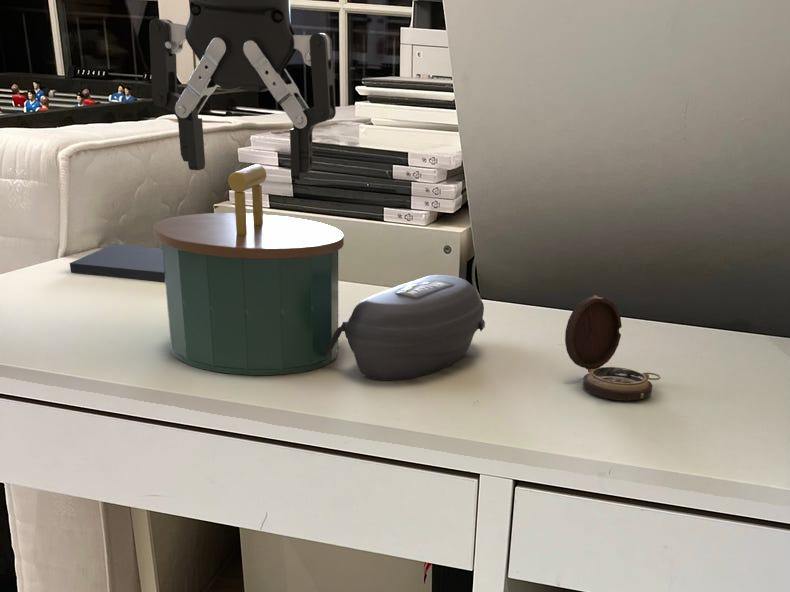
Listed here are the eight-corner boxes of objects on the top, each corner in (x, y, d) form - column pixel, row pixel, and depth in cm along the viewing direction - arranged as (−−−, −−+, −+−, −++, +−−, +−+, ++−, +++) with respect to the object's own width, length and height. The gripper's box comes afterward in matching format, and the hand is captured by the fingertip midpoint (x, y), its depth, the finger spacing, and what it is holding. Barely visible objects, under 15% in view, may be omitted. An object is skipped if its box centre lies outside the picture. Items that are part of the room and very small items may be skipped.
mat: (70, 272, 108) (69, 263, 107) (114, 252, 118) (113, 243, 118) (177, 283, 108) (176, 273, 107) (211, 262, 118) (211, 253, 117)
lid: (124, 255, 77) (115, 169, 74) (191, 223, 91) (185, 150, 87) (321, 274, 77) (320, 189, 74) (359, 239, 90) (360, 166, 87)
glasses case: (427, 387, 80) (399, 290, 77) (326, 407, 85) (297, 317, 82) (515, 339, 94) (494, 255, 91) (423, 358, 99) (401, 280, 96)
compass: (615, 407, 83) (629, 319, 79) (555, 379, 88) (565, 296, 84) (681, 395, 87) (697, 311, 83) (620, 370, 92) (632, 290, 88)
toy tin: (146, 365, 82) (134, 246, 77) (202, 322, 95) (195, 218, 90) (316, 382, 82) (315, 264, 77) (350, 337, 94) (351, 233, 89)
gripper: (122, -80, 69) (146, 171, 78) (320, -63, 69) (323, 188, 77) (160, -70, 76) (179, 161, 84) (341, -55, 75) (342, 176, 84)
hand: (248, 174), depth 81 cm, fingers open, 8 cm apart
